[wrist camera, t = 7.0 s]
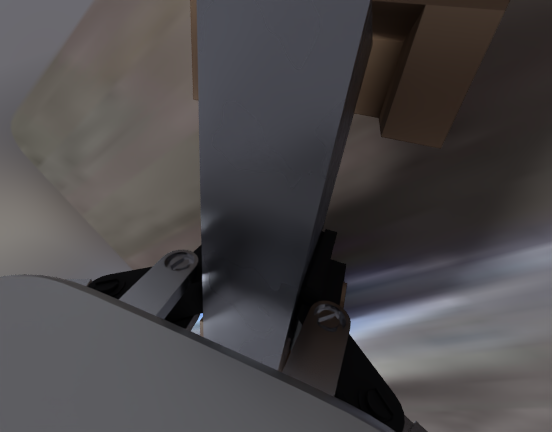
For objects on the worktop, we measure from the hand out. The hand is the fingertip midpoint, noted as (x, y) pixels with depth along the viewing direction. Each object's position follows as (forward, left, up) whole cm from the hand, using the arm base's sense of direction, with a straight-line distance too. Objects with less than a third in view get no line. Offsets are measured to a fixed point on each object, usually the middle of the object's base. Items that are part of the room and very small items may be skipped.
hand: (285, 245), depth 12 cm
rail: (0, 0, 0) cm, 0 cm away
